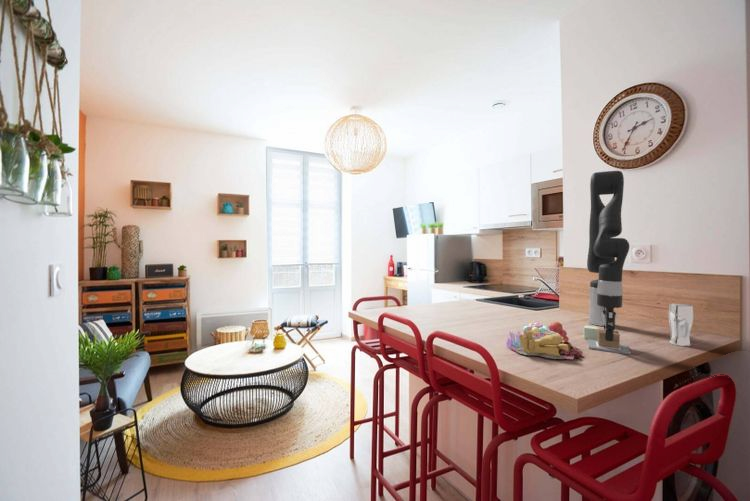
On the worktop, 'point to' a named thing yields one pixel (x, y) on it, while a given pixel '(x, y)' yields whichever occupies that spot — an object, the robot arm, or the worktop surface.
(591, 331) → the sage cube
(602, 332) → the walnut block
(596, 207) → the robot arm
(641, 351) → the worktop surface
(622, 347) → the pad
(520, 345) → the candy landscape model
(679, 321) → the beer glass
